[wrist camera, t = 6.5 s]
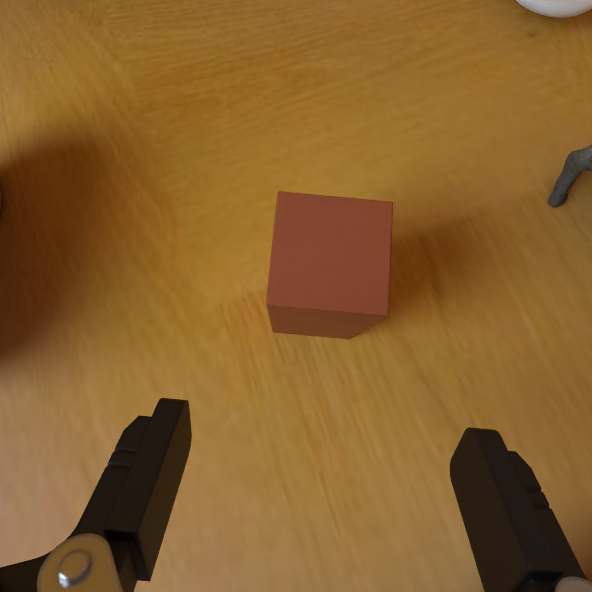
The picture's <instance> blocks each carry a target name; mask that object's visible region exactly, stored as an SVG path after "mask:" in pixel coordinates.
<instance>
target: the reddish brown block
mask: <svg viewBox="0 0 592 592" xmlns="http://www.w3.org/2000/svg"><path fill="white" fill-rule="evenodd" d="M392 215H393V202H386V201H376V200H365V199H355V198H344V197H334V196H323V195H312V194H302V193H291V192H281V191H279V192H278V194H277V203H276V213H275V222H274V232H273V241H272V251H271V260H270V269H269V279H268V288H267V298H266V306H267V310H268V314H269V318H270V322H271V326H272V330H273V332H276V333H287V334H298V335H309V336H320V337H331V338H342V339H350V338H352V337H354V336H355V335H357V334H359V333H360V332H362V331H364V330H365V329H367V328H368V327H370V326H372V325H373V324H375V323H377V322H378V321H380V320H382V319H383V318H385V317H387V316H388V313H389V288H390V264H391V239H392Z"/></svg>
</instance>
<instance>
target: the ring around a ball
mask: <svg viewBox="0 0 592 592" xmlns="http://www.w3.org/2000/svg"><path fill="white" fill-rule="evenodd" d="M515 1H517V2H518V3H519V4H521V5H522V6H523V7H525V8H527V9H529V10H531V11H532V12H535V13H538V14H540V15H544V16H548V17H555V18H567V17H573V16H577V15H580V14H583V13H585V12H587V11H589V10H590V9H592V0H515Z"/></svg>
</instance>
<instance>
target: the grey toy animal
mask: <svg viewBox="0 0 592 592" xmlns="http://www.w3.org/2000/svg"><path fill="white" fill-rule="evenodd" d="M583 171H592V145H590V146H589V147H587V148H585V149H582V150H578V151H573V152H571V153H570V154H569V155H568V157H567V159H566V161H565V165H564V168H563V171H562V173H561V174H560V176H559V177H558V179H557V181H556V184H555V187H554V190H553V192H552V194H551V195H550V197H549V199H548V203H549V204H550V205H551V206H552V207H558V206H560V205H562V204H563V203H564V202H565V201H566V199H567V196H568V190H569V188H570V187H571V186H572V184H573V183H574V181H575V180H576V178H577V177H578V176H579V175H580V174H581V173H582V172H583Z"/></svg>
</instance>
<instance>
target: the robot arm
mask: <svg viewBox="0 0 592 592" xmlns="http://www.w3.org/2000/svg"><path fill="white" fill-rule="evenodd" d="M191 437H192V433H191V422H190V411H189V402H188V400H179V399H169V398H161V399H160V400H159V402H158V404H157V406H156V408H155V410H154V413H153V415H152V417H149V416H138V417H137V418H136V419H135V420H134V421H133V422H132V423H131V424H130V425H129V426H128V427H127V428H126V429H125V430H124V431H123V433H122V435H121V437H120V439H119V441H118V443H117V445H116V447H115V451H114V452H113V453H112V456H111V458H110V460H109V462H108V466H107V467H106V468H105V470H104V472H103V474H102V476H101V478H100V480H99V482H98V484H97V486H96V488H95V490H94V492H93V494H92V496H91V498H90V500H89V502H88V505H87V507H86V509H85V511H84V513H83V515H82V517H81V519H80V521H79V523H78V525H77V526H76V528H75V529H74V531H73V532H72V534H71V535H70V536H69V537H68V538H67V539H66V540H65V541H64V542H62V543H61V544H59V545H58V546H57V547H56V548H55V549H54V550H52V551H51V552H49V553H47V554H45V555H43V556H41V557H38V558H35V559H32V560H28V561H24V562H20V563H17V564H13V565H9V566H5V567H1V568H0V592H134V589H135V586H136V583H137V580H140V581H150V580H151V576H152V573H153V570H154V567H155V563H156V560H157V557H158V554H159V550H160V547H161V544H162V541H163V537H164V534H165V531H166V527H167V524H168V521H169V518H170V514H171V511H172V508H173V505H174V501H175V498H176V495H177V492H178V488H179V485H180V482H181V478H182V475H183V472H184V469H185V465H186V462H187V459H188V455H189V451H190V446H191ZM450 477H451V482H452V485H453V489H454V492H455V495H456V499H457V502H458V505H459V508H460V512H461V515H462V518H463V522H464V525H465V528H466V532H467V535H468V538H469V542H470V545H471V548H472V551H473V555H474V558H475V561H476V565H477V568H478V571H479V575H480V578H481V581H482V585H483V588H484V591H485V592H592V583H591V582H590V581H588V579H587V578H586V576H585V575H584V573H583V571H582V569H581V568H580V565H579V563H578V561H577V559H576V557H575V555H574V553H573V551H572V549H571V547H570V545H569V543H568V541H567V539H566V537H565V535H564V533H563V531H562V529H561V527H560V525H559V523H558V521H557V519H556V517H555V515H554V513H553V511H552V509H550V508H549V503H548V501H547V499H546V497H545V495H544V493H543V492H541V487H540V485H539V483H538V481H537V479H536V477H535V475H534V473H533V471H532V469H531V468H530V467H529V466H528V464H527V463H526V462H525V461H524V460H523V459H522V458H521V457H520V456H519V454H518V453H517V452H515V451H508V450H507V448H506V446H505V444H504V441H503V439H502V437H501V435H500V434H499V432H498V431H496V430H491V429H480V428H467V429H466V430H465V432H464V434H463V436H462V438H461V440H460V442H459V444H458V446H457V448H456V450H455V452H454V454H453V456H452V458H451V462H450Z"/></svg>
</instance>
